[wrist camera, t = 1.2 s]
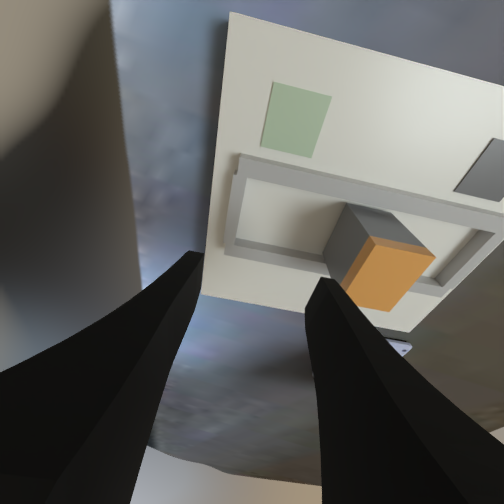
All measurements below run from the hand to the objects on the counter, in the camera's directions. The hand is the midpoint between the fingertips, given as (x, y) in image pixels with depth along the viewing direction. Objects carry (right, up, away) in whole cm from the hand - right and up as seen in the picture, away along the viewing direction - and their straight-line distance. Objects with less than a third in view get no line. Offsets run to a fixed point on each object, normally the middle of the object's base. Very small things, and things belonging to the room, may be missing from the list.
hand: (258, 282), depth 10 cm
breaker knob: (+7, +3, +6) cm, 9 cm away
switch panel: (+7, +4, +7) cm, 11 cm away
